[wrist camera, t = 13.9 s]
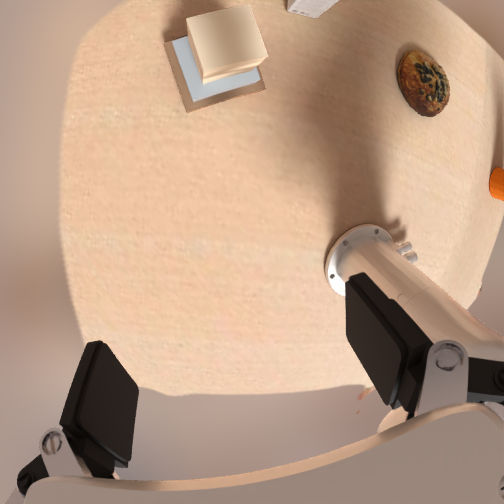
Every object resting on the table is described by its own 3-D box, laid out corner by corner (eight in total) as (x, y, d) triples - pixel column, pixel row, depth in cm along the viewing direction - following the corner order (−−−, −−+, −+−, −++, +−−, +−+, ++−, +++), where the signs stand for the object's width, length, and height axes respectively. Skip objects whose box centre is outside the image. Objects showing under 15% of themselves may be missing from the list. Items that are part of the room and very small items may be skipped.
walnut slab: (239, 28, 25) (242, 21, 23) (260, 91, 30) (265, 88, 27) (166, 49, 25) (163, 43, 23) (187, 113, 29) (186, 112, 27)
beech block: (237, 29, 21) (249, 4, 15) (251, 70, 23) (268, 55, 17) (188, 42, 21) (186, 18, 15) (202, 84, 23) (203, 71, 17)
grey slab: (235, 30, 23) (239, 21, 21) (254, 83, 27) (260, 79, 24) (174, 48, 23) (171, 41, 20) (193, 102, 26) (192, 100, 24)
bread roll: (403, 120, 33) (426, 118, 28) (382, 51, 29) (402, 42, 25) (446, 115, 34) (467, 114, 29) (428, 55, 30) (448, 49, 25)
